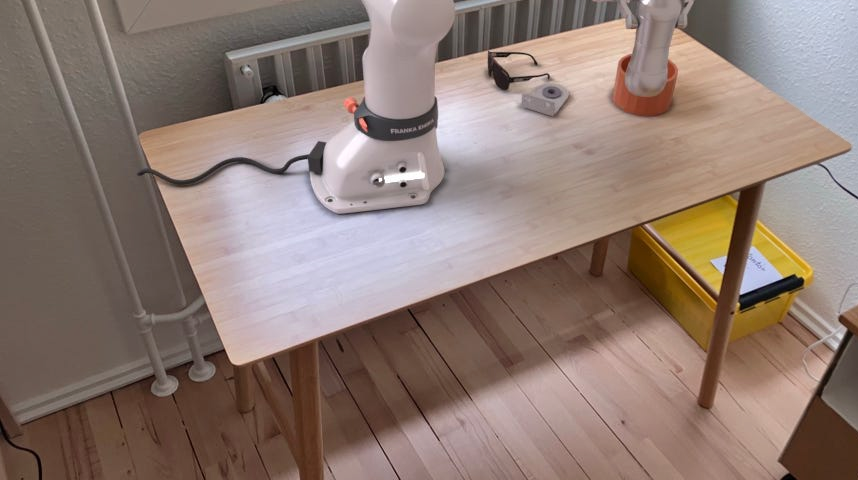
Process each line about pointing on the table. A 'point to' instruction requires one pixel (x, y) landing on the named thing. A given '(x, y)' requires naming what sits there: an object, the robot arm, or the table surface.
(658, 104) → the holder sleeve
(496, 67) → the sunglasses
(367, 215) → the table surface
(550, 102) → the bracket
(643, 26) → the plastic bottle
